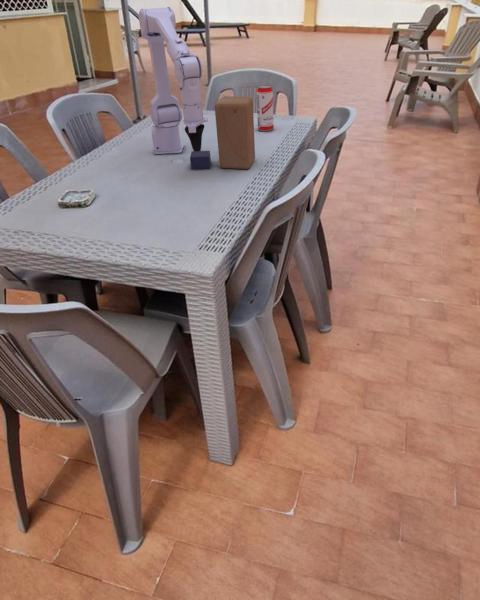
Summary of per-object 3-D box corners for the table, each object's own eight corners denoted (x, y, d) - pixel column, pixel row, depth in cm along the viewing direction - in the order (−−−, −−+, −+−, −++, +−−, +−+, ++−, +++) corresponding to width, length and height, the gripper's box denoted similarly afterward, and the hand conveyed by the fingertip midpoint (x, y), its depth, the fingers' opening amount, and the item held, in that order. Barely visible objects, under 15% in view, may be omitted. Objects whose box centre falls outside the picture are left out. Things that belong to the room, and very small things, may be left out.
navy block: (191, 169, 149) (189, 157, 146) (193, 163, 154) (191, 151, 151) (210, 168, 149) (208, 156, 146) (210, 162, 154) (209, 150, 151)
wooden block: (249, 170, 146) (246, 103, 135) (219, 169, 148) (213, 103, 137) (255, 159, 154) (253, 95, 143) (227, 158, 156) (222, 95, 145)
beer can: (255, 129, 185) (253, 86, 175) (269, 126, 187) (268, 84, 177) (262, 133, 180) (260, 88, 171) (276, 130, 182) (275, 86, 173)
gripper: (204, 108, 127) (209, 157, 135) (207, 97, 139) (211, 143, 147) (178, 109, 127) (185, 158, 135) (183, 98, 139) (189, 144, 147)
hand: (197, 150), depth 141 cm, fingers closed
